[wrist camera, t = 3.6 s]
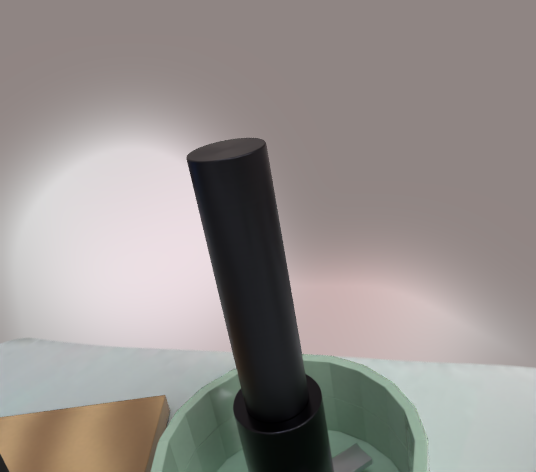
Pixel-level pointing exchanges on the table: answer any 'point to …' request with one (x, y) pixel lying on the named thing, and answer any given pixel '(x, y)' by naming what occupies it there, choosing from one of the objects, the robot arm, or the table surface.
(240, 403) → the blade
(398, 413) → the processor bowl
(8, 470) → the robot arm
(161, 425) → the cutting board
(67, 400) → the table surface
